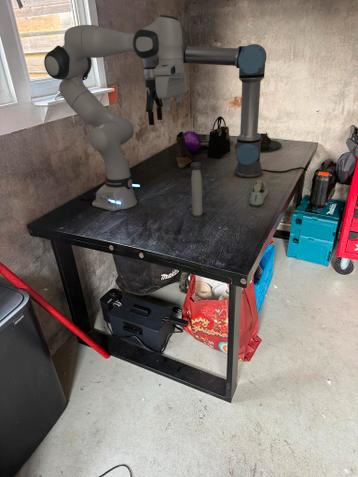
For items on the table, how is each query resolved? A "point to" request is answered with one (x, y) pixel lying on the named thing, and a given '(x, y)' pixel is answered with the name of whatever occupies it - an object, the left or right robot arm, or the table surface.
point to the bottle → (196, 192)
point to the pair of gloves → (206, 142)
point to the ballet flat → (258, 193)
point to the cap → (196, 166)
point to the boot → (182, 151)
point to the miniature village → (268, 144)
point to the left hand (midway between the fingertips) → (173, 108)
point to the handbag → (219, 140)
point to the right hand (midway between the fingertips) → (156, 122)
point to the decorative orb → (192, 141)
